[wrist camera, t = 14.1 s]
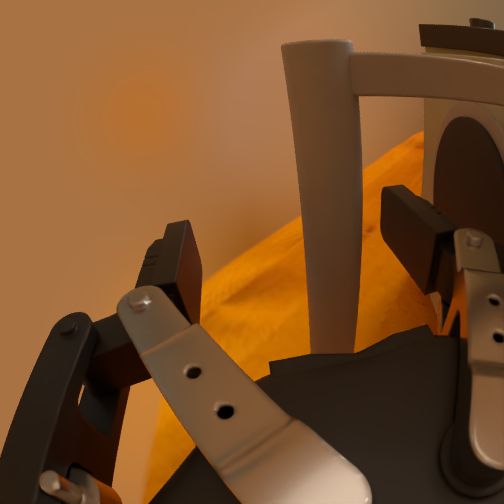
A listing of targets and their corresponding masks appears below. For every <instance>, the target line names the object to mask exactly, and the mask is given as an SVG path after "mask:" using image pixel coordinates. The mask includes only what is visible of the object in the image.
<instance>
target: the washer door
mask: <svg viewBox="0 0 504 504" xmlns="http://www.w3.org/2000/svg"><path fill="white" fill-rule="evenodd" d="M281 51H282V57H283V63H284V70H285V77H286V84H287V91H288V99H289V106H290V112H291V121H292V129H293V137H294V144H295V145H294V146H295V154H296V163H297V172H298V182H299V191H300V202H301V213H302V224H303V236H304V248H305V261H306V275H307V290H308V307H309V326H310V348H311V354H339V353H354V346H355V336H356V326H357V315H358V303H359V290H360V274H361V253H362V215H363V184H362V147H361V127H360V111H359V97H358V96H397V97H421V98H424V161H423V180H422V194H421V198H423V199H425V200H428V201H429V202H430V203H431V204H432V205H434V206H435V208H437V209H438V210H439V211H441V212H442V214H444V215H445V216H446V217H448V218H449V219H450V220H451V221H452V222H453V223H454V224H455V225H457V226H458V227H459V228H474V229H478V230H481V231H483V232H485V233H486V234H488V235H489V236H490V237H491V238H492V240H493V242H494V244H504V60H500V59H493V58H486V57H477V56H467V55H455V54H440V53H421V55H419V54H405V53H381V52H354V49H353V43H352V41H350V40H346V39H322V40H307V41H298V42H290V43H285V44H283V45H282V46H281ZM430 297H431V300H432V303H433V306H434V309H435V313H436V316H437V319H438V303H439V299H440V294H439V293H438V292H434V293H431V294H430Z"/></svg>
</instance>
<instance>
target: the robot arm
mask: <svg viewBox="0 0 504 504" xmlns="http://www.w3.org/2000/svg"><path fill="white" fill-rule="evenodd" d="M380 229H381V234H382V237H383V239H384V241H385V242H386V244H387V245H388V246H389V248H390V249H391V250H392V251H393V253H394V254H395V255H396V257H397V258H398V259H399V261H400V262H401V263H402V265H403V266H404V267H405V269H406V270H407V271H408V273H409V274H410V276H411V277H412V278H413V280H414V281H415V282H416V284H417V285H418V287H419V288H420V289H421V291H422V292H423V294H424V295H427V294H431V293H434V292H438V293H439V294H440V299H439V303H438V323H437V335H433V333H432V331H431V330H430V328H429V326H428V325H427V324H426V325H423V326H420V327H416V328H413V329H410V330H406V331H403V332H399V333H396V334H393V335H391V336H389V337H387V338H385V339H383V340H381V341H380V342H378V343H376V344H374V345H372V346H370V347H368V348H366V349H364V350H362V351H360V352H357V353H339V354H308V355H303V356H298V357H293V358H287V359H282V360H276V361H271V362H269V367H270V373H271V374H270V375H267V376H265V377H262V378H261V379H259V380H257V381H255V382H254V381H253V380H252V379H251V378H250V377H249V376H248V375H247V374H246V373H245V372H244V371H243V370H242V369H241V368H240V367H239V366H238V365H237V364H236V363H235V362H234V361H233V360H232V359H231V358H230V357H229V356H228V355H227V354H226V352H225V351H224V350H223V349H222V348H221V347H220V346H219V345H218V344H217V343H216V342H215V341H214V340H213V339H212V337H211V336H210V335H209V334H208V333H207V332H206V331H205V330H204V329H203V328H202V327H201V326H200V306H201V288H202V264H201V259H200V256H199V252H198V249H197V245H196V241H195V238H194V234H193V231H192V227H191V224H190V222H189V220H184V221H179V222H174V223H169V224H168V225H167V227H166V230H165V234H164V237H163V239H158V240H155V241H154V243H153V244H152V245H151V246H150V247H149V248H148V250H147V252H146V255H145V260H144V261H143V265H142V268H141V270H140V273H139V277H138V280H137V283H136V286H135V289H133V290H132V291H130V292H128V293H127V294H126V295H124V296H123V297H122V299H121V300H120V301H119V303H118V305H117V313H116V314H114V315H111V316H109V317H107V318H104V319H101V320H99V321H96V322H92V321H91V319H90V317H89V316H88V315H87V314H86V313H82V312H75V313H72V314H69V315H67V316H65V317H63V318H62V319H61V320H59V321H58V322H57V323H56V324H55V325H54V327H53V328H52V330H51V332H50V334H49V336H48V338H47V340H46V342H45V344H44V346H43V349H42V351H41V353H40V355H39V357H38V359H37V362H36V364H35V366H34V369H33V371H32V373H31V375H30V378H29V380H28V382H27V385H26V387H25V389H24V392H23V395H22V397H21V399H20V402H19V405H18V407H17V410H16V413H15V415H14V418H13V421H12V424H11V426H10V429H9V432H8V435H7V438H6V441H5V444H4V447H3V450H2V453H1V457H0V504H122V501H121V498H120V497H119V495H118V494H117V492H116V491H115V490H114V489H113V488H112V481H113V474H114V468H115V462H116V457H117V450H118V445H119V440H120V434H121V429H122V424H123V419H124V414H125V409H126V404H127V400H128V395H129V391H130V386H131V385H134V384H137V383H140V382H142V381H145V380H148V379H150V378H153V380H154V382H155V383H156V385H157V386H158V388H159V390H160V391H161V393H162V395H163V396H164V398H165V399H166V401H167V403H168V404H169V406H170V407H171V409H172V410H173V412H174V413H175V415H176V416H177V418H178V419H179V421H180V422H181V424H182V425H183V427H184V428H185V430H186V431H187V433H188V434H189V435H190V437H191V438H192V440H193V441H194V442H195V444H196V447H195V448H194V449H193V450H192V452H191V453H190V454H189V455H188V457H187V458H186V459H185V460H184V462H183V463H182V464H181V465H180V467H179V468H178V469H177V470H176V471H175V473H174V474H173V475H172V476H171V478H170V479H169V480H168V481H167V482H166V484H165V485H164V486H163V487H162V488H161V489H160V491H159V492H158V493H157V494H156V495H155V497H154V498H153V499H152V500H151V501H150V502H149V503H148V504H504V244H494V242H493V240H492V238H491V237H490V236H489V235H488V234H486V233H485V232H483V231H481V230H478V229H474V228H459V227H458V226H457V225H455V224H454V223H453V222H452V221H451V220H450V219H449V218H448V217H446V216H445V215H444V214H442V212H441V211H439V210H438V209H437V208H435V206H434V205H432V204H431V203H430V202H429V201H428V200H425V199H423V198H421V197H419V196H416V195H415V194H414V193H413V192H411V191H410V190H409V189H408V188H406V187H405V186H404V185H395V186H387V187H384V188H383V189H382V193H381V219H380ZM82 385H84V386H85V387H84V390H83V393H82V397H81V400H80V404H79V406H78V398H79V394H80V391H81V388H82Z"/></svg>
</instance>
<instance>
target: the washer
mask: <svg viewBox="0 0 504 504" xmlns="http://www.w3.org/2000/svg"><path fill="white" fill-rule="evenodd" d="M469 21H470V27H468V26H455V25H433V24H419V31H420V40H421V46H423V47H425V49H426V53H440V54H455V55H467V56H477V57H486V58H493V59H500V60H504V31H502V30H496V29H494V23H493V22H492V21H489V20H485V19H479V18H470V19H469Z"/></svg>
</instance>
